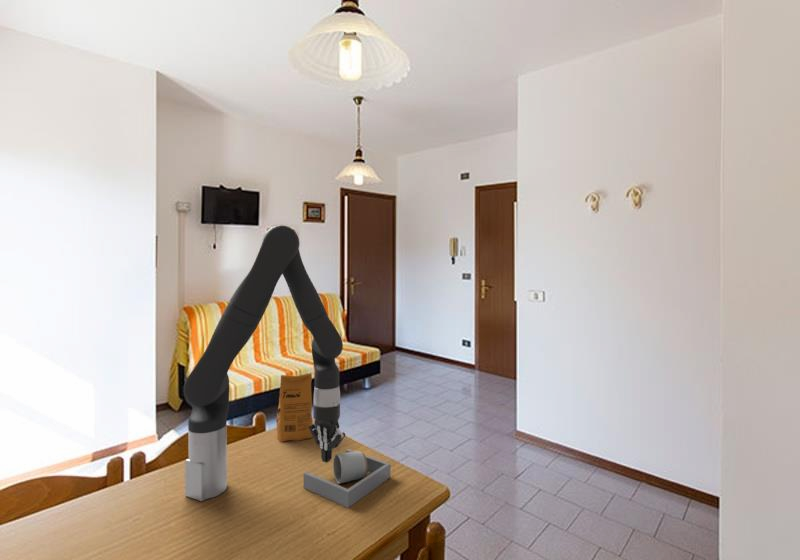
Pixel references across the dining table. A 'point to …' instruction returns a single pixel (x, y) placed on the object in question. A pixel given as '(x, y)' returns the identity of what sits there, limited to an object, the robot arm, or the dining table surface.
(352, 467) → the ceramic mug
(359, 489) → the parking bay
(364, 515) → the dining table surface
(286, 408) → the coffee package
